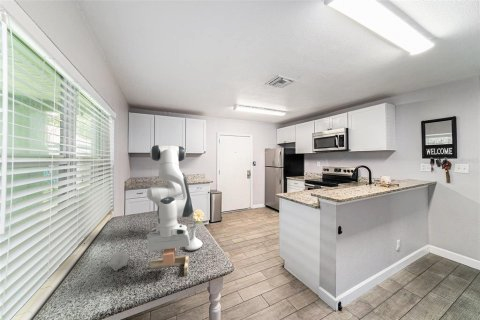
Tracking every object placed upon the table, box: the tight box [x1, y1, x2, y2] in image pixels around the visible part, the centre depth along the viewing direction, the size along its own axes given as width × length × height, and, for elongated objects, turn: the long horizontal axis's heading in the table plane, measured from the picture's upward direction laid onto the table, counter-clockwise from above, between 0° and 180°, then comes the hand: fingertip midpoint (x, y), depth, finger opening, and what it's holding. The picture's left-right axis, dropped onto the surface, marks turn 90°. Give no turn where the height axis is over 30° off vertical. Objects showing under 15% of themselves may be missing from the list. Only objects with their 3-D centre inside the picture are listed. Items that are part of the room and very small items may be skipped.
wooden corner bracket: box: [149, 254, 190, 277], centre depth 93 cm, size 12×20×4 cm, turn 103°
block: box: [162, 248, 177, 265], centre depth 92 cm, size 5×9×5 cm, turn 13°
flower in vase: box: [184, 209, 205, 251], centre depth 117 cm, size 13×11×25 cm
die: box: [108, 250, 130, 272], centre depth 98 cm, size 8×9×10 cm
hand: (169, 256), depth 92 cm, fingers closed on block, 5 cm apart
